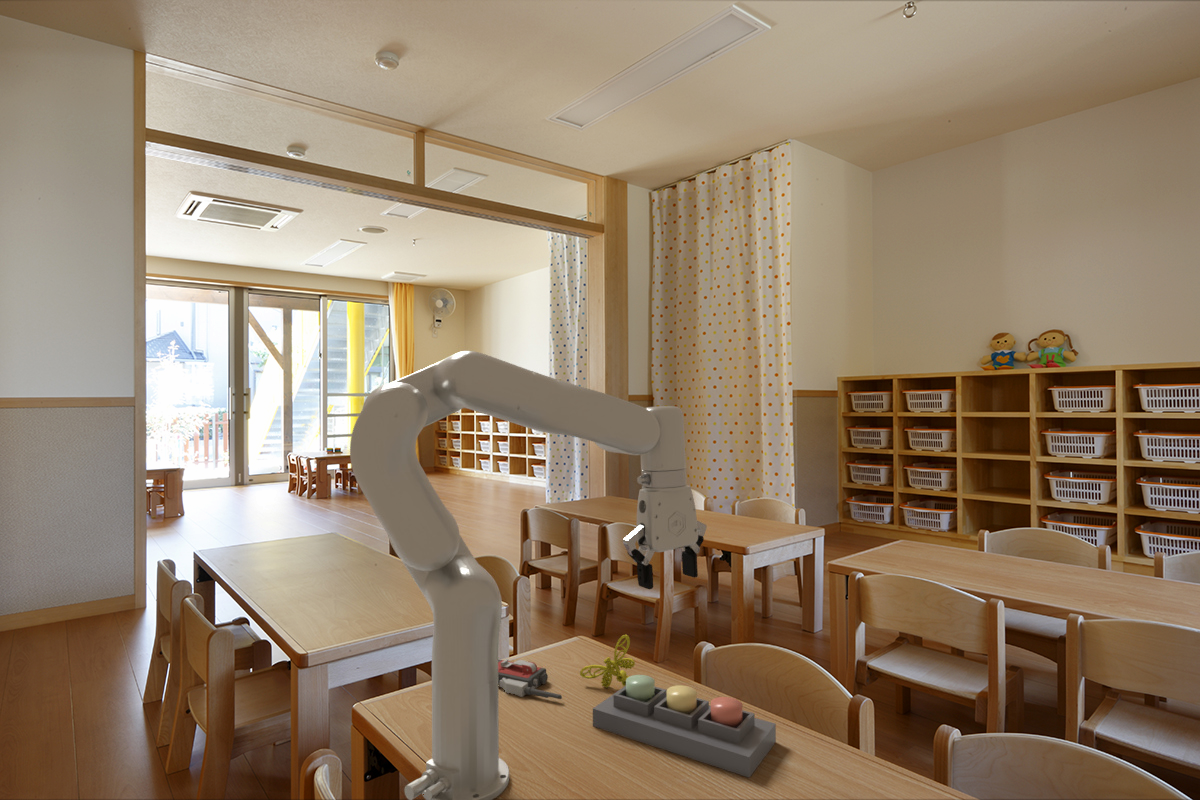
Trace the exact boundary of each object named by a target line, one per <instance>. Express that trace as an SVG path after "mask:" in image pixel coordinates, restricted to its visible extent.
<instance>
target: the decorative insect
mask: <svg viewBox="0 0 1200 800" xmlns="http://www.w3.org/2000/svg"><path fill="white" fill-rule="evenodd" d="M623 639H624V640H623ZM622 640H623V641H622ZM621 641H622V642H621ZM630 643H631V638H630V636H629V635H627V634H623V635H621V636H620V637H619V638H618V640H617V642H616V645H615V648H614V653H613V654H614V655H613V660H611V657H609V656H608V657H606V658H605V659H604V660H603V663H604V665H600V664H589V665H586V666H584V667H583V668H582V669H580V671H579V676H581V677H582V678H584V679H596V678H598V677H600V676H602V678H601V682H600V684H601V687H604V688H606V689H608V688H609V687H610V686H611V684H612V680H613V676H614V677H615V678H616V680H617V682H619V683H621V685H622V687H624V686H626V679H627V678H628V677H630V676H629V675H627V671H625V670H627V669H629V670H632V668H634V667H635V664H636V663H635V662H636V661H635V660H634V659H633V658H631V657H624V656H626V654H627V652H628V650H629V647H630V645H631V644H630ZM624 644H626V646H625V645H624ZM618 647H620V648H622V649H621V650H619V651H618ZM617 651H618V652H617ZM621 653H623V654H622V655H621V656H620V654H621ZM619 656H620V657H619ZM605 664H606V665H605ZM620 668H621V669H620ZM592 669H597V670H594V672H593V674H592V672H591V671H592ZM622 669H625V670H622ZM584 671H586V672H584ZM583 672H584V673H583ZM598 672H600V673H598ZM596 673H597V674H596ZM588 674H589V675H588Z"/></svg>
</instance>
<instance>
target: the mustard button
mask: <svg viewBox="0 0 1200 800" xmlns="http://www.w3.org/2000/svg"><path fill="white" fill-rule="evenodd" d="M666 690H667V708H668V709H671V710H674V711H678V712H681V713H685V714H689V713H692V712H693V711H694V710H695V709H697V698H698V695H697V690H696V689H695V688H693V687H691V686H688V685H679V684H678V685H677V684H676V685H672V686H670V687H668V688H667V689H666Z"/></svg>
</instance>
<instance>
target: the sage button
mask: <svg viewBox="0 0 1200 800" xmlns="http://www.w3.org/2000/svg"><path fill="white" fill-rule="evenodd" d="M655 684H656V683H655V679H654V678H653V677H651V676H649V675H645V674H633V675H630V676H629V677H628V678H627V679H626V697H629V698H632V699H636V700H639V701H643V702H645V701H649V700H650V699H652V698H653V697H654V696H655V687H656V686H655Z"/></svg>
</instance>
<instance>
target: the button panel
mask: <svg viewBox="0 0 1200 800" xmlns="http://www.w3.org/2000/svg"><path fill="white" fill-rule="evenodd" d="M709 702H710V701H709V700H708V699H707V700H706V699H703V698H700V697H699V698H698V697H697V709H695V710H694V711H693V712H692V713H689V714H685V713H681V712H678V711H674V710H671V709H668V708H667V689H665V688H661V687H657V686H655V696H654V697H653V698H652V699H650V700H649V701H645V702H643V701H639V700H636V699H632V698H629V697H626V686H622V687H621V688H620V689H619V690H617V691H616V692H614V693H613V694H612V695H610V696H609V697H607V698H606V699H604V700H603V701H601V702H600V703H599V704H597V705H596V706H594V707H593V708H592V726H593V727H594V728H598V729H599V730H603V731H607V732H610V733H612V734H615V735H619V736H622V737H624V738H628V739H631V740H634V741H637V742H640V743H642V744H646V745H649V746H652V747H654V748H659V749H661V750H664V751H666V752H667V751H668V752H670V753H672V754H676V755H680V756H682V757H686V758H689V759H692V760H695V761H697V762H701V763H703V764H707V765H710V766H713V767H715V768H719V769H722V770H725V771H728V772H732V773H733V774H737V775H740V776H743V777H747V778H751V776H752V775H753V773H754V772H755V771H756V770H757V768H758V767H759V766H760V764H761V763H762V762H763V760H764V758H765V757H766V756H767V755H768V753H769V752H770V751H771V749H773V747H774V745H775V744H776V742H777V740H776V739H777V735H776V734H777V733H776V732H777V731H776V729H777V728H776V725H777V724H776V723H775V722H772V721H768V720H765V719H760V718H756V717H755V713H754V712H751V711H747V710H743V709H742V719H743V721H742V723H741V724H740V725H739V726H736V727H730V726H726V725H723V724H719V723H716V722H712V721H711V704H710V703H709ZM774 743H775V744H774ZM772 746H773V747H772Z"/></svg>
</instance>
